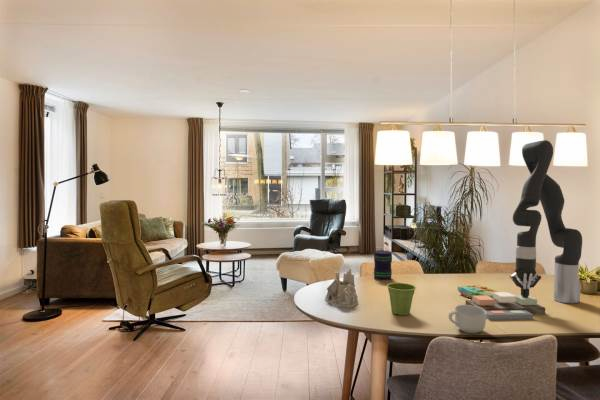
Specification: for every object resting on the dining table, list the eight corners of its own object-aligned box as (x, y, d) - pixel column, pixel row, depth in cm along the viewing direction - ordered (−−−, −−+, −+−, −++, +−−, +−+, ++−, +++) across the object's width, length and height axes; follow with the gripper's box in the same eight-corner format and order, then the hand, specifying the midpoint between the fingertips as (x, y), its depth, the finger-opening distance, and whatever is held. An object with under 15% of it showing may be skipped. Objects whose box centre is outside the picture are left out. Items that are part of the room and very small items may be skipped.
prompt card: (525, 315, 170) (525, 309, 170) (533, 319, 165) (533, 313, 165) (482, 315, 169) (482, 310, 169) (488, 319, 164) (488, 313, 164)
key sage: (528, 300, 181) (528, 295, 181) (537, 305, 174) (537, 299, 174) (513, 300, 181) (513, 295, 180) (521, 305, 174) (521, 299, 174)
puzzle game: (477, 283, 205) (509, 293, 186) (477, 292, 206) (508, 304, 186) (457, 285, 202) (487, 295, 183) (457, 294, 202) (487, 306, 183)
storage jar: (370, 277, 237) (370, 251, 236) (383, 275, 241) (384, 250, 241) (381, 281, 228) (381, 254, 227) (395, 279, 233) (395, 252, 232)
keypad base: (528, 305, 184) (528, 299, 184) (545, 313, 172) (545, 307, 172) (465, 305, 183) (465, 300, 183) (478, 314, 171) (478, 308, 171)
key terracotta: (487, 300, 180) (487, 295, 180) (494, 305, 174) (494, 299, 174) (472, 301, 180) (472, 295, 180) (479, 305, 173) (479, 299, 173)
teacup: (477, 325, 158) (478, 304, 158) (492, 335, 147) (492, 313, 147) (441, 325, 157) (441, 304, 157) (453, 336, 147) (453, 313, 146)
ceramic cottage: (330, 295, 199) (330, 264, 197) (363, 301, 192) (364, 269, 190) (316, 305, 185) (317, 273, 184) (351, 312, 178) (352, 278, 176)
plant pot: (402, 319, 164) (403, 291, 164) (380, 312, 174) (380, 285, 173) (421, 314, 171) (422, 286, 171) (399, 307, 181) (399, 281, 180)
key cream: (507, 297, 180) (507, 292, 180) (516, 302, 174) (516, 296, 174) (492, 297, 180) (493, 292, 180) (500, 302, 174) (500, 296, 174)
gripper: (535, 255, 181) (534, 294, 181) (505, 255, 180) (504, 294, 181) (546, 258, 173) (545, 299, 174) (515, 258, 173) (514, 299, 173)
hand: (524, 297), depth 177 cm, fingers closed
